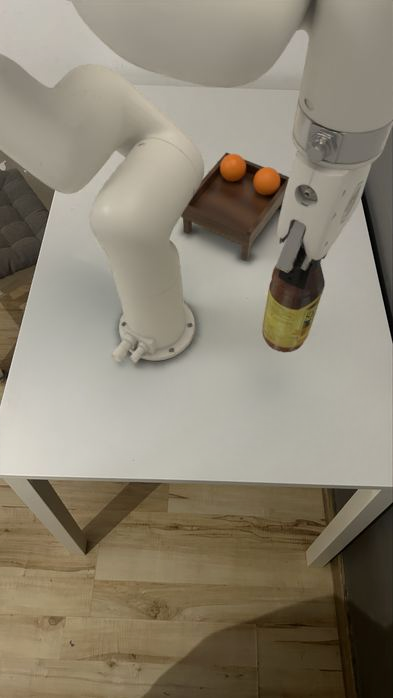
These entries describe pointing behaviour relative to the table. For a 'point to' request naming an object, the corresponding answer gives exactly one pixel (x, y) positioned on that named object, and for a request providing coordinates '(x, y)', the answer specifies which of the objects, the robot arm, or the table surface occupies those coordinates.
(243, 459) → the table surface
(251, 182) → the tray
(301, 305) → the sauce bottle
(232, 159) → the clementine
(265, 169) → the clementine
